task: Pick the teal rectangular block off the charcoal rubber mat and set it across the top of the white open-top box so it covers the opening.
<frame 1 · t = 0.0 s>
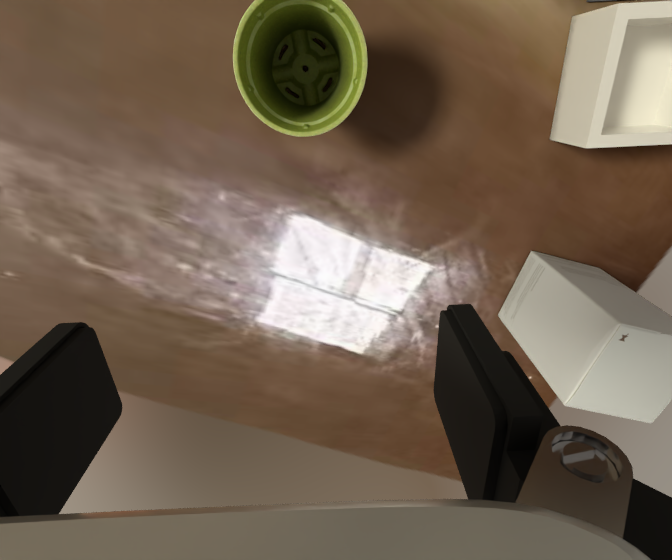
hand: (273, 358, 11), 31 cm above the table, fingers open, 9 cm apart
white open-top box: (615, 79, 36), on the table
plant pot: (306, 69, 36), on the table
supplement box: (546, 292, 46), on the table
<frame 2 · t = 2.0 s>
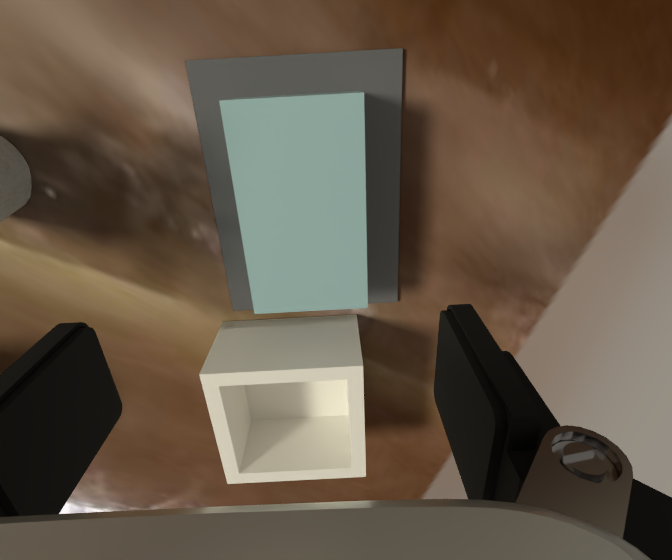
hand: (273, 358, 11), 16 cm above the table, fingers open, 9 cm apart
teal rectangular block: (306, 198, 25), resting on mat
white open-top box: (295, 371, 32), on the table
mat: (306, 197, 25), on the table
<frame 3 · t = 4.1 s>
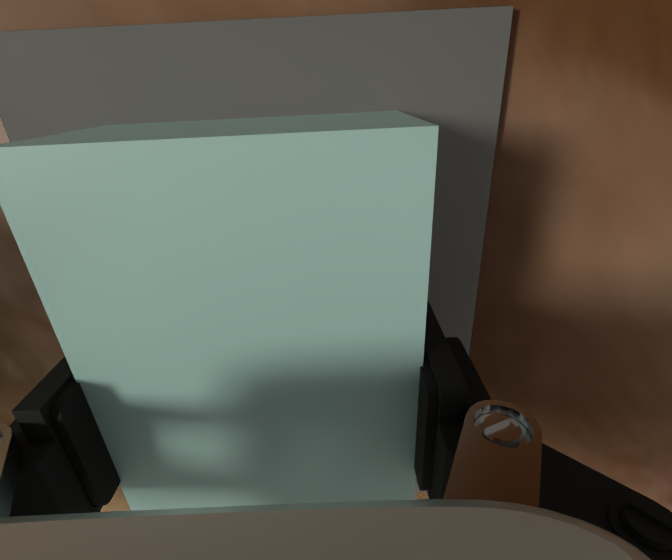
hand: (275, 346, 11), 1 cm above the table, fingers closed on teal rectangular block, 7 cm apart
teal rectangular block: (279, 327, 12), resting on mat, touching gripper
mat: (280, 323, 12), on the table
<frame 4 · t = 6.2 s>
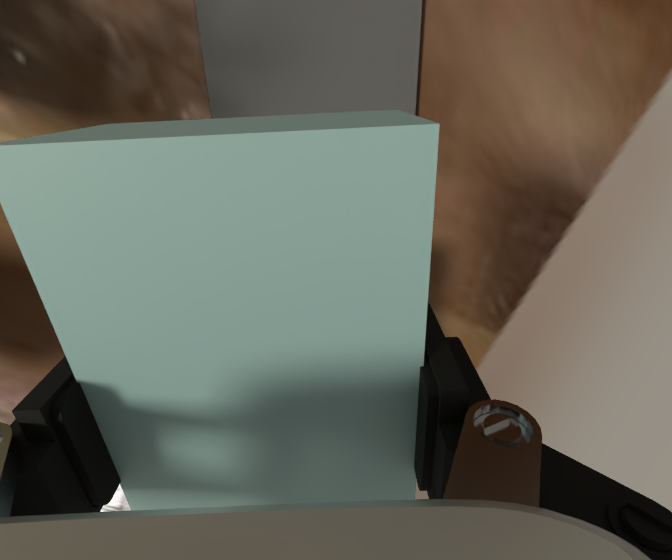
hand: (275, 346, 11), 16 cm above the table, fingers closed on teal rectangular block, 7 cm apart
teal rectangular block: (279, 326, 12), point 15 cm above the table, touching gripper
mat: (312, 73, 23), on the table
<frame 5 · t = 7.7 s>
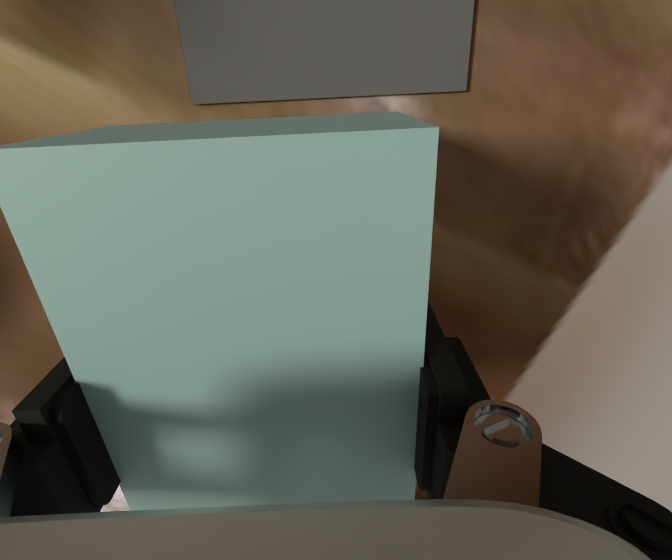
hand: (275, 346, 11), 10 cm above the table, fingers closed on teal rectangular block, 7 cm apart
teal rectangular block: (279, 328, 12), point 9 cm above the table, touching gripper
when the fingers open (8 cm above the table, at t = 8.6 s): teal rectangular block stays where it is, resting on white open-top box.
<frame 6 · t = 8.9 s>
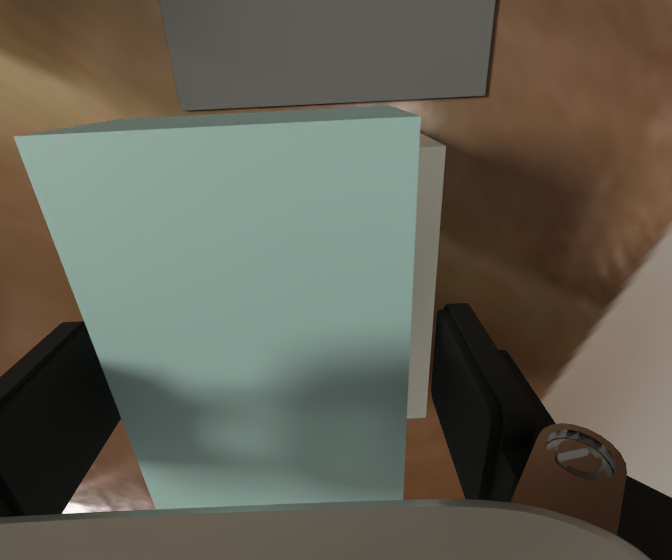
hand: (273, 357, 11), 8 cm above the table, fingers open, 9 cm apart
teal rectangular block: (279, 309, 13), point 6 cm above the table, touching white open-top box
white open-top box: (296, 245, 18), on the table
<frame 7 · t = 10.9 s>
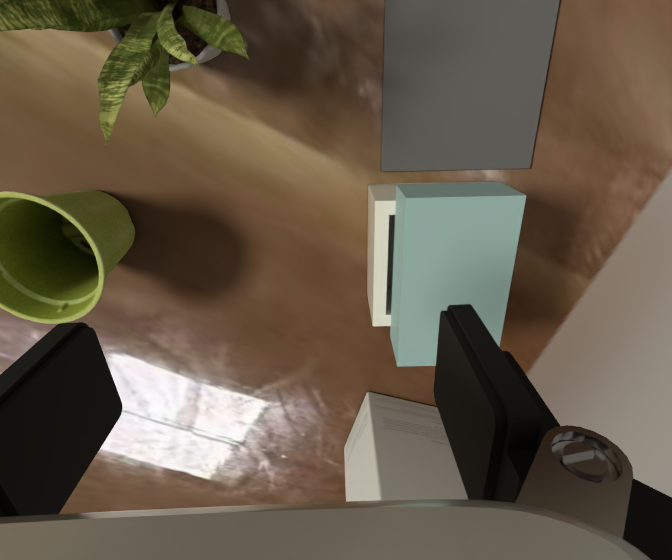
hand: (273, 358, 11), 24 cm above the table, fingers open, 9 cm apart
teal rectangular block: (440, 265, 29), point 6 cm above the table, touching white open-top box
white open-top box: (424, 240, 35), on the table
mat: (466, 56, 29), on the table
plant pot: (102, 224, 34), on the table
supplement box: (392, 427, 44), on the table
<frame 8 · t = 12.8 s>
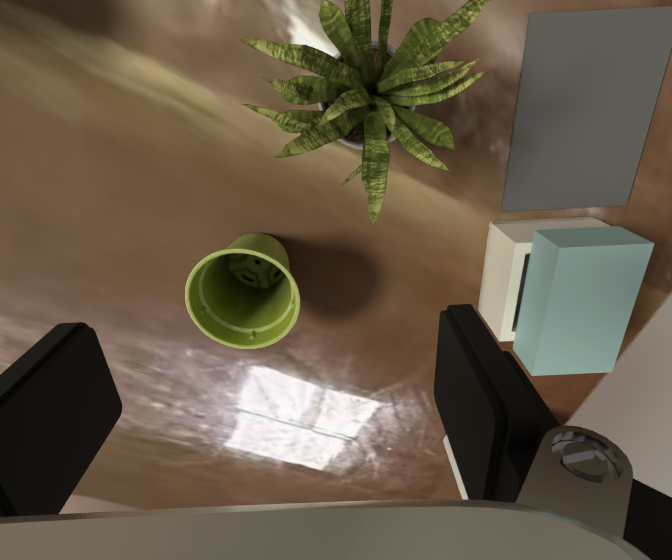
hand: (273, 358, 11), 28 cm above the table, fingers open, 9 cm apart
teal rectangular block: (561, 291, 36), point 6 cm above the table, touching white open-top box
house plant: (365, 78, 33), on the table
white open-top box: (531, 265, 41), on the table
mat: (582, 119, 35), on the table
plant pot: (259, 259, 40), on the table
supplement box: (485, 421, 51), on the table
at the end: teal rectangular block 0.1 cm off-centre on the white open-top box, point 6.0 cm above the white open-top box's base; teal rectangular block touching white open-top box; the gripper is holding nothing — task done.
